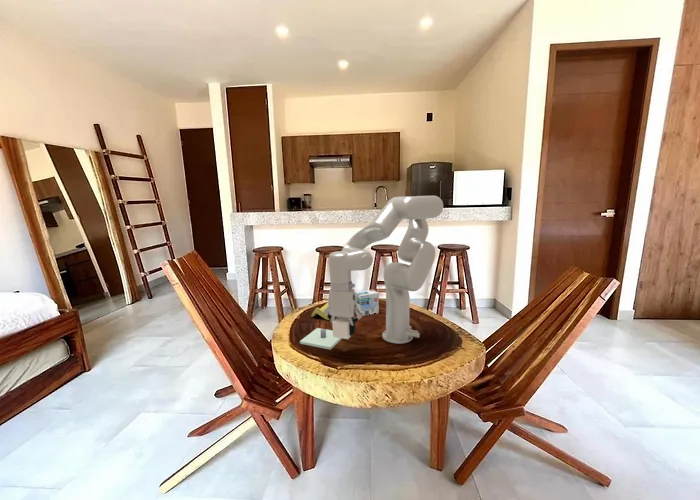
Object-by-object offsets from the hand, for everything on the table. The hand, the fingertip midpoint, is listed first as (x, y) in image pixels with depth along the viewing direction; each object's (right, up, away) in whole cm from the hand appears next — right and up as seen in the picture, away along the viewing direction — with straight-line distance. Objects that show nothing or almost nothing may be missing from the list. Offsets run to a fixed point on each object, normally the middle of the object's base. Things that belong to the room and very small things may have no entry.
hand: (344, 332), depth 113 cm
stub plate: (-9, -7, +14) cm, 18 cm away
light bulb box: (+11, -2, +43) cm, 45 cm away
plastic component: (-8, -2, +44) cm, 45 cm away
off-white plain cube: (0, -1, 0) cm, 1 cm away
